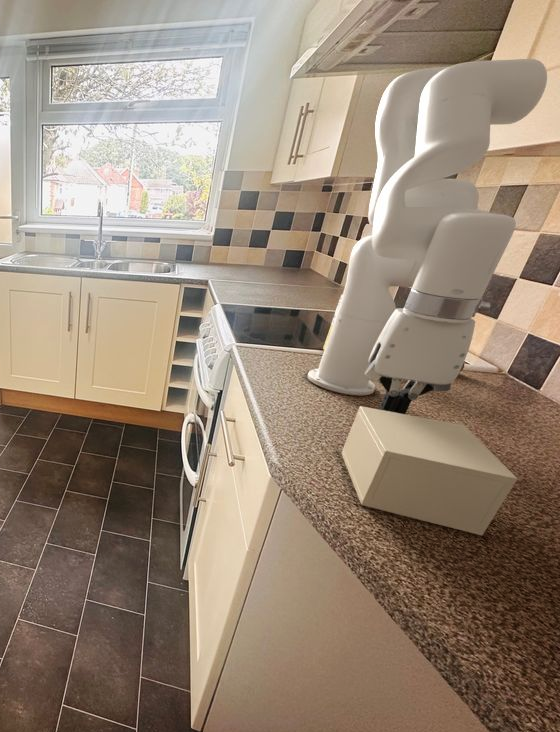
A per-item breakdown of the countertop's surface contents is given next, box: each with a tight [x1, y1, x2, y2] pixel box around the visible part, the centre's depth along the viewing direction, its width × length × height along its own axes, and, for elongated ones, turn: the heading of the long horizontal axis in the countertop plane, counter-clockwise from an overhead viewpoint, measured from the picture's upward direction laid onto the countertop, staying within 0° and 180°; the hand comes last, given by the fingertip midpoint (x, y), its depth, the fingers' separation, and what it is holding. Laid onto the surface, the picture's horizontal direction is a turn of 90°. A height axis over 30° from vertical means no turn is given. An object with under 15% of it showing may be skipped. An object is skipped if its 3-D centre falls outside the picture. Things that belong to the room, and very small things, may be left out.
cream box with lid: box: [340, 405, 518, 536], centre depth 57 cm, size 14×13×9 cm
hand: (389, 416), depth 68 cm, fingers closed
